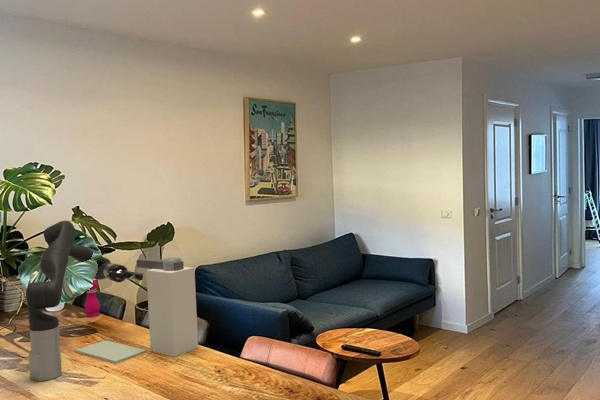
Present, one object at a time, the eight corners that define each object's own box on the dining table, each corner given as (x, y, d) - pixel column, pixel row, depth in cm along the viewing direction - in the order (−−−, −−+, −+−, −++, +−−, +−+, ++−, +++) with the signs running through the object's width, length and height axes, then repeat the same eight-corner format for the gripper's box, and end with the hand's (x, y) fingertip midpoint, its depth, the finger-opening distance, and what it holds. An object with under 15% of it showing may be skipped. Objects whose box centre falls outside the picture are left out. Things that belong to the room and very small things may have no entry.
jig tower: (175, 357, 203) (170, 273, 201) (150, 351, 211) (146, 270, 209) (198, 347, 213) (194, 267, 211) (174, 342, 221) (170, 265, 219)
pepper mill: (97, 317, 266) (94, 277, 265) (82, 317, 266) (80, 277, 265) (102, 313, 273) (100, 274, 272) (88, 314, 274) (86, 275, 273)
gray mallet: (173, 271, 205) (172, 260, 204) (133, 267, 216) (133, 257, 216) (186, 268, 211) (185, 258, 210) (147, 264, 222) (146, 255, 222)
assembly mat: (115, 363, 198) (115, 361, 198) (75, 352, 213) (75, 349, 213) (146, 352, 209) (146, 350, 209) (105, 342, 224) (105, 340, 224)
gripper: (101, 262, 232) (117, 267, 220) (131, 265, 241) (149, 269, 230) (98, 280, 231) (114, 285, 219) (129, 281, 241) (146, 287, 229)
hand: (132, 277), depth 224 cm, fingers open, 8 cm apart
